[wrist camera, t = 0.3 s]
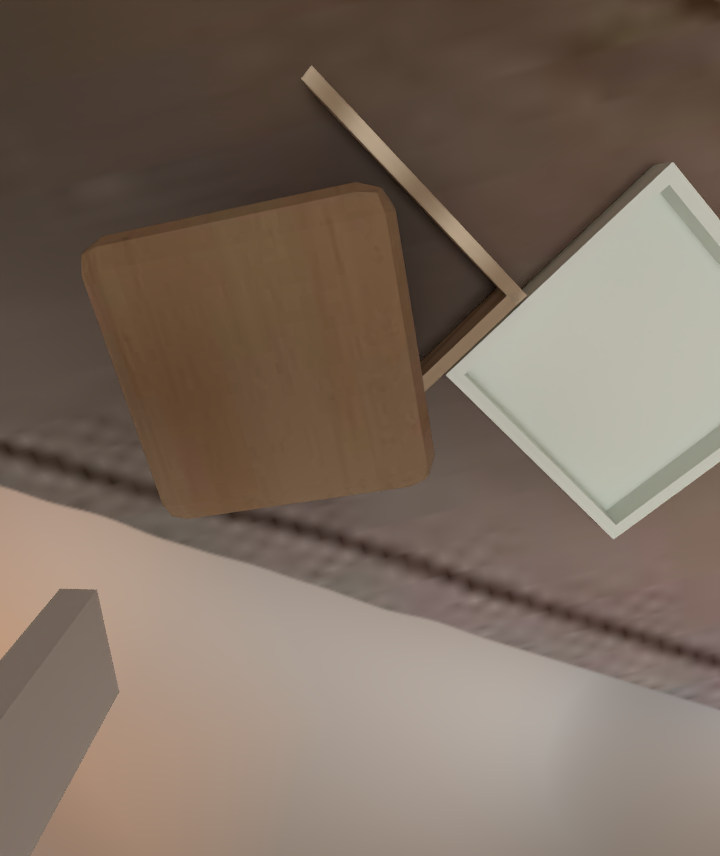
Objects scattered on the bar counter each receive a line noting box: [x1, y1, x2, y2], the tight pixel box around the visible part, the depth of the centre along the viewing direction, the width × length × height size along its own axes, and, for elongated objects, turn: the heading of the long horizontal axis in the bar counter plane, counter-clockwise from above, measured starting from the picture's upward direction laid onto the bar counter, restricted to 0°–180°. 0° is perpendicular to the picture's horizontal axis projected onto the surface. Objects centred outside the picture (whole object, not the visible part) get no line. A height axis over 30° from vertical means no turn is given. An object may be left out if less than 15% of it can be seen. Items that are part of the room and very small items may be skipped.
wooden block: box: [81, 182, 435, 519], centre depth 27 cm, size 10×10×20 cm
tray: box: [445, 162, 720, 539], centre depth 36 cm, size 17×17×2 cm
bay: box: [301, 65, 527, 391], centre depth 35 cm, size 17×17×4 cm
